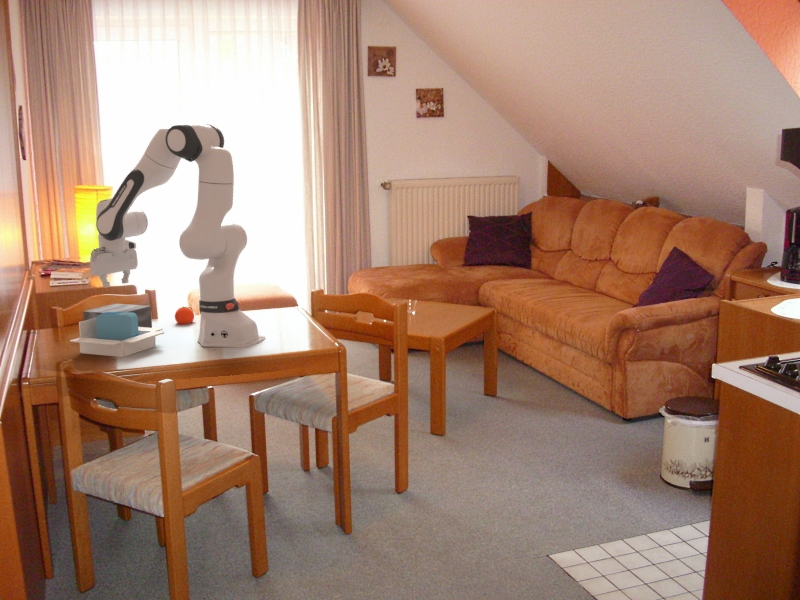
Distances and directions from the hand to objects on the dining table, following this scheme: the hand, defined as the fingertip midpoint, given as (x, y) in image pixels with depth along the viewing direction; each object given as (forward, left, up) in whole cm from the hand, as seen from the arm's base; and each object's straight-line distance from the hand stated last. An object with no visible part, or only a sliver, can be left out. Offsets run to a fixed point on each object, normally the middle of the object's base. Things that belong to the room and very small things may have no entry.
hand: (116, 285), depth 277 cm
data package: (-17, +20, -18) cm, 32 cm away
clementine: (-14, -20, -18) cm, 30 cm away
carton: (-17, +20, -17) cm, 31 cm away
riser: (0, 0, -17) cm, 17 cm away
